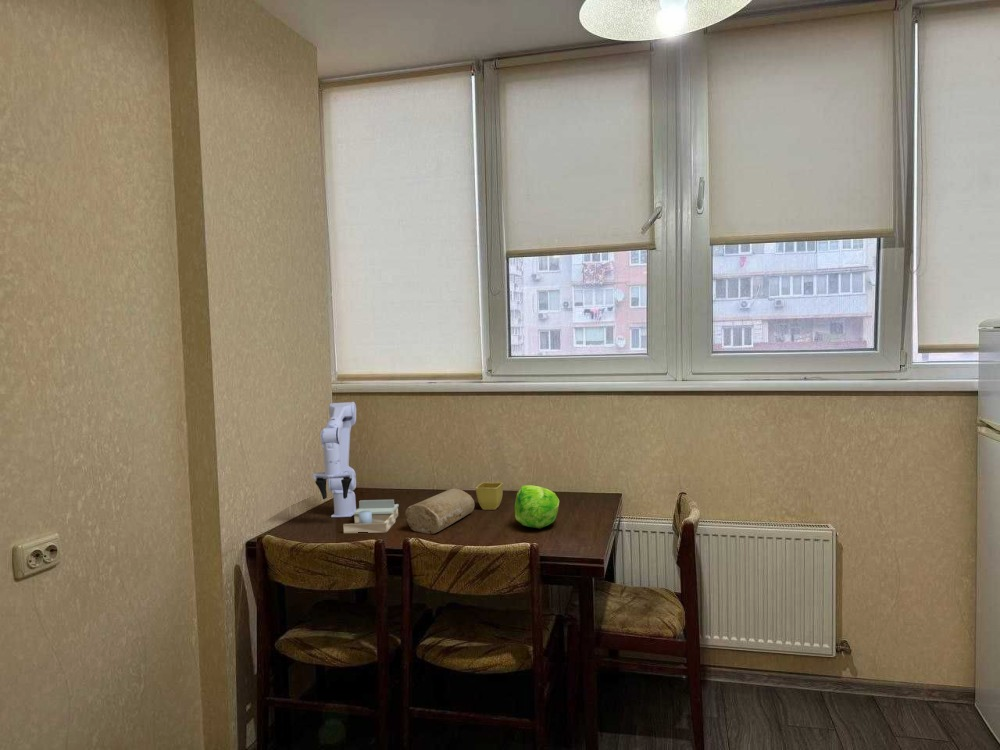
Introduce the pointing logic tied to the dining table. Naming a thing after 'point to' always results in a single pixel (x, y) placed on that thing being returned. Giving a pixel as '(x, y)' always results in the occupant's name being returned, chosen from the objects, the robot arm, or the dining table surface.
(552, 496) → the lettuce
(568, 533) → the dining table surface
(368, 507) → the lid
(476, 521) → the dining table surface
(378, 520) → the frame
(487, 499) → the flower pot
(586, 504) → the dining table surface
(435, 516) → the core sample
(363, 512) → the pale blue cylinder
